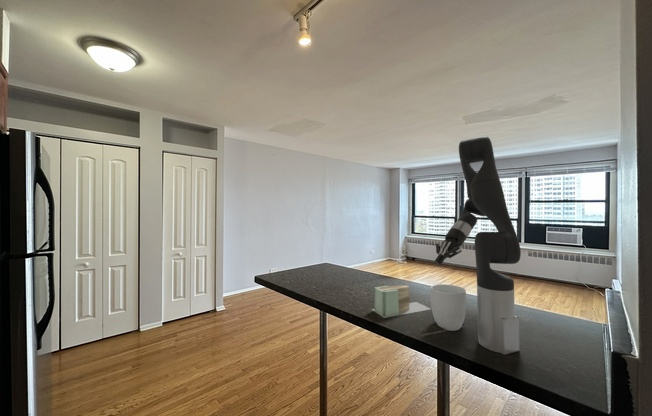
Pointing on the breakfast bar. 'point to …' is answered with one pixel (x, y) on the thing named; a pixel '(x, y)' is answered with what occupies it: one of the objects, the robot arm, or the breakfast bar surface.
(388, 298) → the end cap
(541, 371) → the breakfast bar surface
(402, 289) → the tan wooden block
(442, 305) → the mug
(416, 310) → the board
